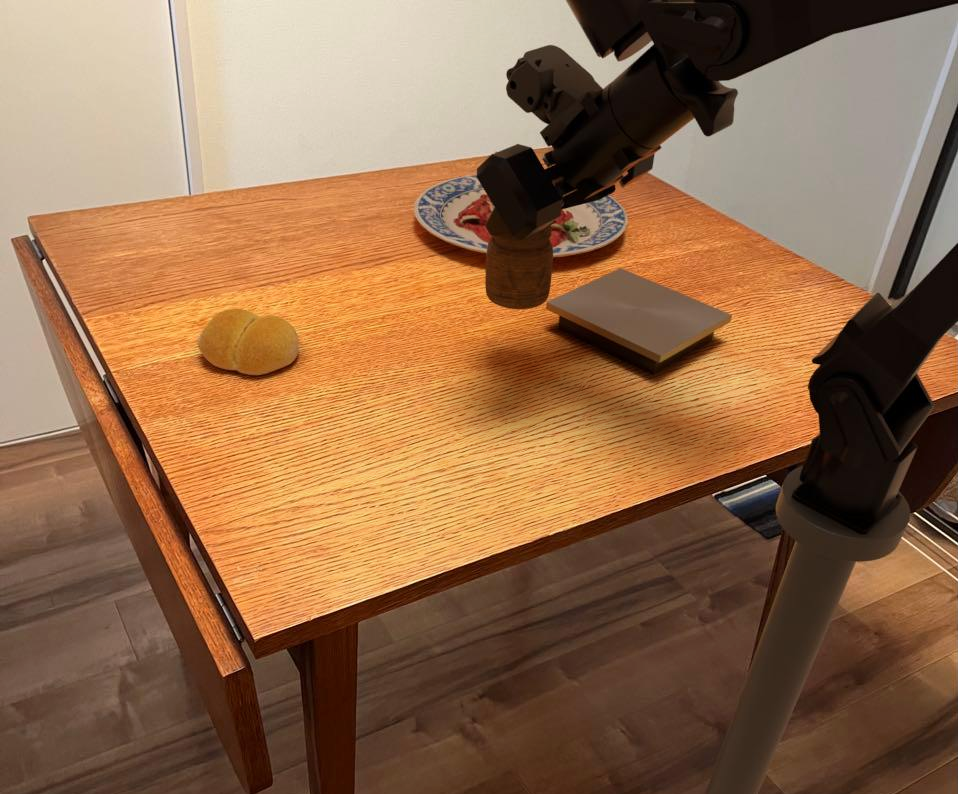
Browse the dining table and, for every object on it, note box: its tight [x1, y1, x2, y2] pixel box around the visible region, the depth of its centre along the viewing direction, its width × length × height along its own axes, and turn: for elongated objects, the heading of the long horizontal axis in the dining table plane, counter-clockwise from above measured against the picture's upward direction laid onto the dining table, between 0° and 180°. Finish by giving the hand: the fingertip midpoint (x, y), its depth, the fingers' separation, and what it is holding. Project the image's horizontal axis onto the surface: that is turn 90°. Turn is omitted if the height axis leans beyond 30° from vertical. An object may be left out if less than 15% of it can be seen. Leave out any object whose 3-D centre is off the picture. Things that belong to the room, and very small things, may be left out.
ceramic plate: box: [413, 173, 628, 258], centre depth 111 cm, size 26×26×3 cm
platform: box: [545, 267, 733, 376], centre depth 92 cm, size 14×12×3 cm
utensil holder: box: [484, 151, 555, 310], centre depth 80 cm, size 6×6×12 cm
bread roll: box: [197, 307, 300, 376], centre depth 85 cm, size 8×9×4 cm
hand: (508, 221), depth 80 cm, fingers closed on utensil holder, 5 cm apart
